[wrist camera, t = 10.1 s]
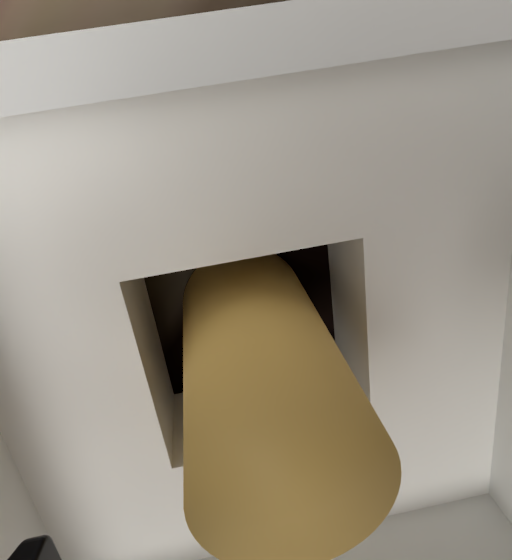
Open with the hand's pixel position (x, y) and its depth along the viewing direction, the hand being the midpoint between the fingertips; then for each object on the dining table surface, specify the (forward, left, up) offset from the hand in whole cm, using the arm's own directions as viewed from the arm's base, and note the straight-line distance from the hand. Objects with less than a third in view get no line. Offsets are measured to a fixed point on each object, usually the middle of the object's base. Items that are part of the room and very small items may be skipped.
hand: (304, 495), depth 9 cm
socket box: (0, 0, -8) cm, 8 cm away
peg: (0, 0, -8) cm, 8 cm away
